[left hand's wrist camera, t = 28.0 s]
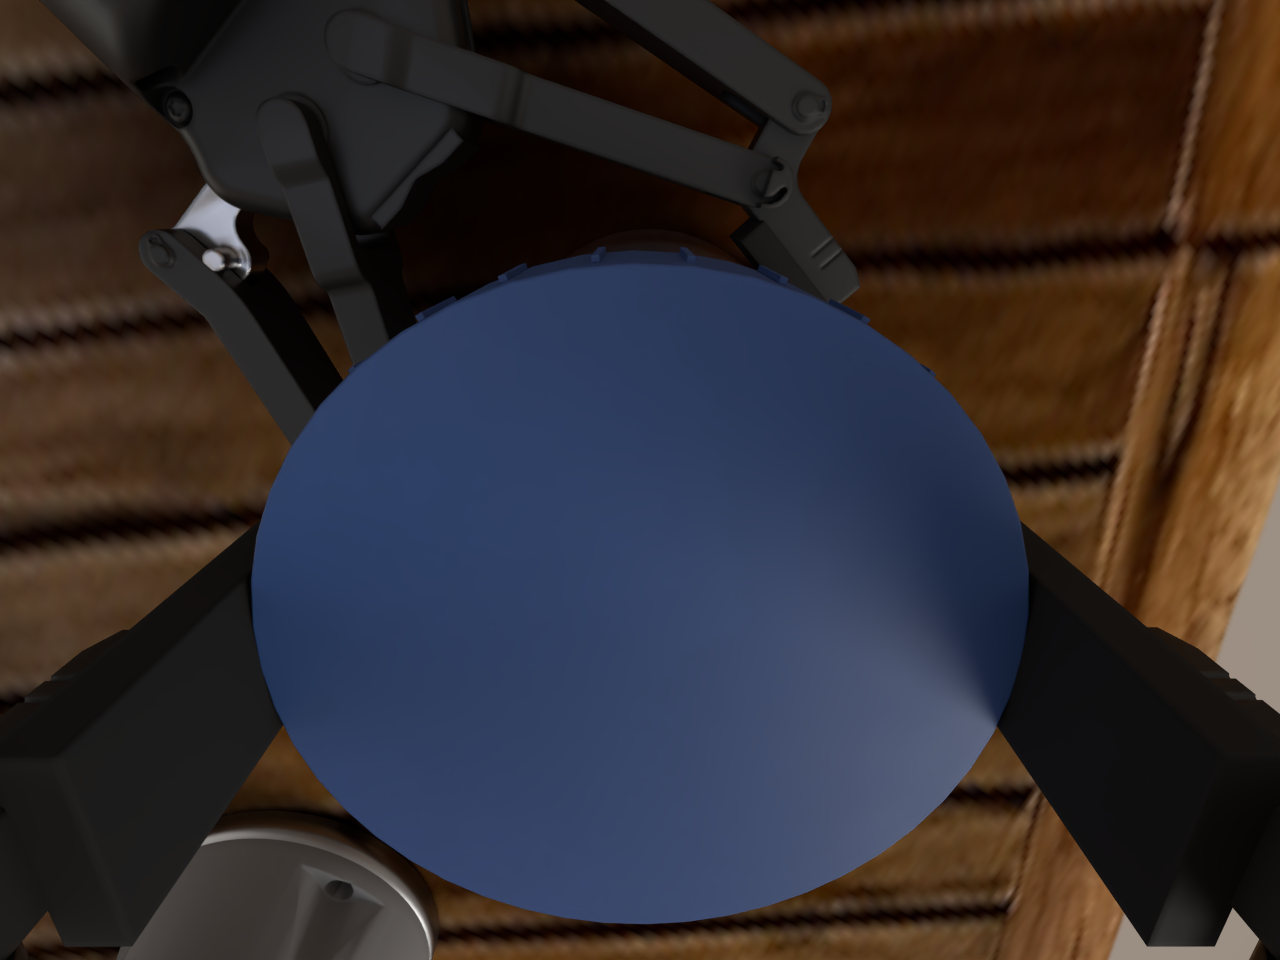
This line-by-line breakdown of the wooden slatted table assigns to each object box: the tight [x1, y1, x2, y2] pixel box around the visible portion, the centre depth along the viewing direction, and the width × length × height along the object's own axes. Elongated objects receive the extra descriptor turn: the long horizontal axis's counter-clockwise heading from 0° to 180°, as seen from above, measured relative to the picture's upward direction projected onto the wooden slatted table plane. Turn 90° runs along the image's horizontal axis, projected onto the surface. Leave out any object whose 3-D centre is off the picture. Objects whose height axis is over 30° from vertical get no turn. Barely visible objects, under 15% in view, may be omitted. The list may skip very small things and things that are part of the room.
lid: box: [251, 247, 1029, 924], centre depth 11 cm, size 12×12×2 cm
